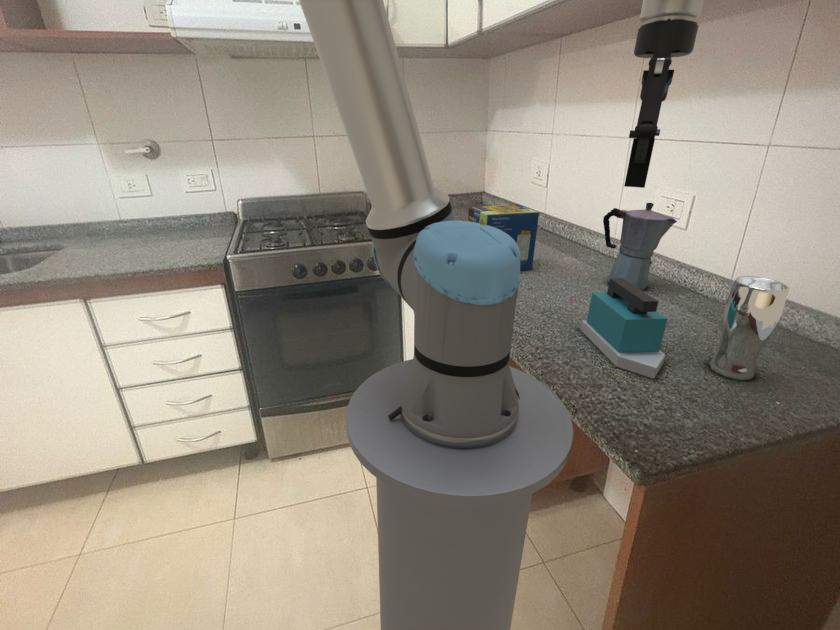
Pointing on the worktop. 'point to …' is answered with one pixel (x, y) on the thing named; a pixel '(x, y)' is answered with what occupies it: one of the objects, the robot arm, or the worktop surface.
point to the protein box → (511, 226)
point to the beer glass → (747, 325)
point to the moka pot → (636, 242)
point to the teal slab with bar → (627, 327)
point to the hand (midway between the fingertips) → (635, 181)
